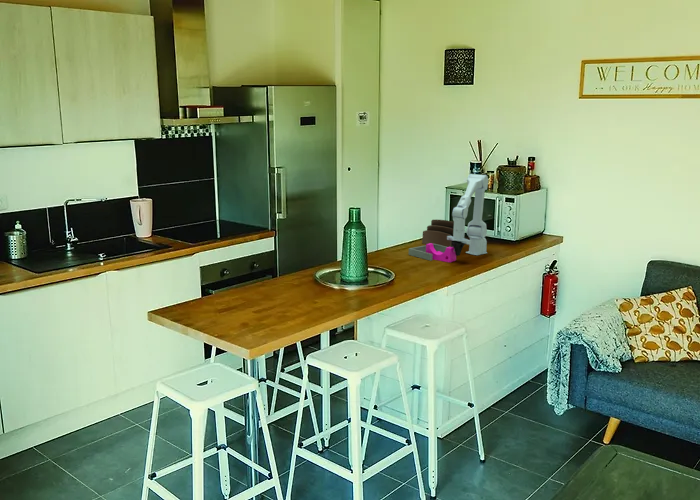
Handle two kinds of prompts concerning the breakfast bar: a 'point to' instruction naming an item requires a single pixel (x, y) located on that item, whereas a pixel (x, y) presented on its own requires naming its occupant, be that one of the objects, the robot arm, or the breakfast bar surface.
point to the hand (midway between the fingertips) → (457, 255)
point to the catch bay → (422, 253)
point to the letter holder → (439, 233)
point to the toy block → (441, 253)
